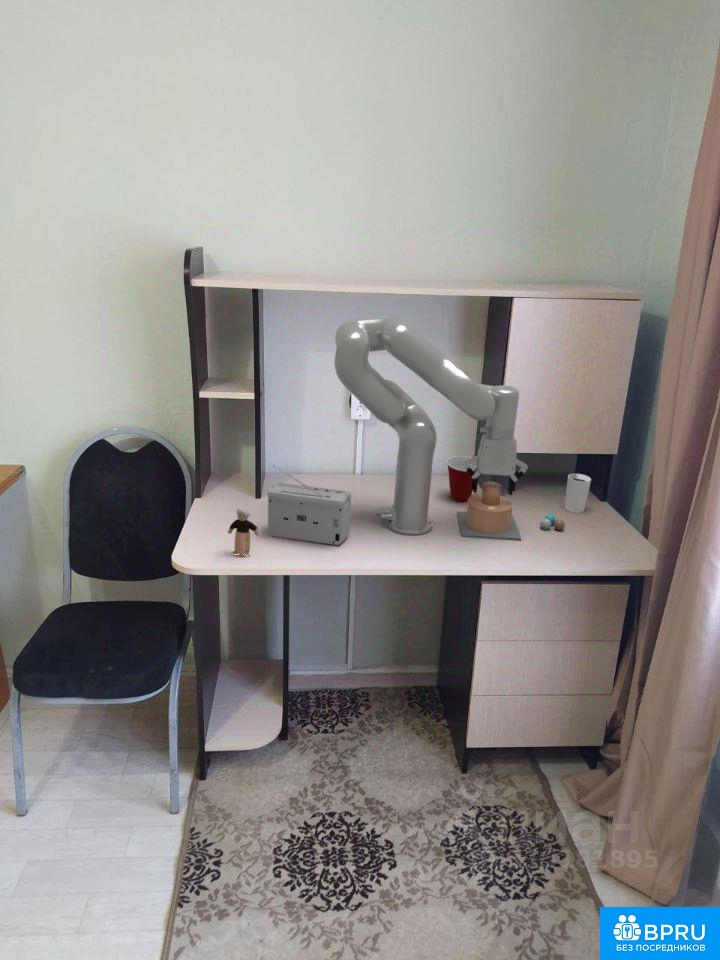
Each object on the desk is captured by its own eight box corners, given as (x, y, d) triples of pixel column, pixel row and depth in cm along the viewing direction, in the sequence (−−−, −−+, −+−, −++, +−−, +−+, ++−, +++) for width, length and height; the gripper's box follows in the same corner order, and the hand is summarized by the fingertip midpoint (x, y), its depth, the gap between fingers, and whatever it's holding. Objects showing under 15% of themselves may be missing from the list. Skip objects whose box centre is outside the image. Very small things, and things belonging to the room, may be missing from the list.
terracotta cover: (467, 532, 198) (472, 491, 194) (463, 514, 209) (468, 475, 205) (512, 534, 198) (517, 494, 193) (505, 516, 209) (511, 478, 205)
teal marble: (545, 526, 206) (546, 516, 205) (543, 521, 208) (544, 512, 207) (555, 526, 206) (557, 517, 205) (553, 522, 208) (555, 512, 207)
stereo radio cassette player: (349, 535, 194) (353, 465, 186) (342, 549, 186) (346, 476, 179) (274, 525, 197) (275, 455, 190) (264, 537, 190) (264, 465, 182)
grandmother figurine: (227, 557, 178) (226, 510, 174) (228, 550, 182) (227, 503, 177) (258, 557, 179) (258, 510, 175) (259, 550, 183) (259, 504, 178)
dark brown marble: (554, 531, 203) (555, 521, 202) (552, 527, 205) (553, 517, 204) (565, 532, 203) (566, 522, 201) (562, 527, 205) (564, 518, 204)
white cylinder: (573, 514, 215) (578, 482, 211) (558, 505, 220) (563, 475, 217) (590, 511, 217) (596, 480, 214) (575, 503, 223) (580, 472, 219)
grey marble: (540, 530, 203) (542, 520, 202) (538, 526, 205) (540, 516, 204) (551, 531, 203) (552, 521, 202) (549, 526, 205) (550, 517, 204)
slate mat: (461, 536, 196) (461, 534, 196) (456, 512, 211) (457, 511, 211) (521, 540, 196) (521, 538, 196) (512, 516, 211) (512, 514, 211)
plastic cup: (450, 507, 215) (454, 468, 211) (437, 493, 225) (441, 456, 220) (484, 504, 218) (488, 467, 214) (469, 491, 228) (474, 455, 223)
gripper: (468, 434, 190) (461, 495, 197) (534, 439, 190) (526, 499, 196) (465, 426, 197) (459, 485, 204) (529, 430, 197) (521, 489, 203)
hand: (492, 492), depth 200 cm, fingers open, 9 cm apart
